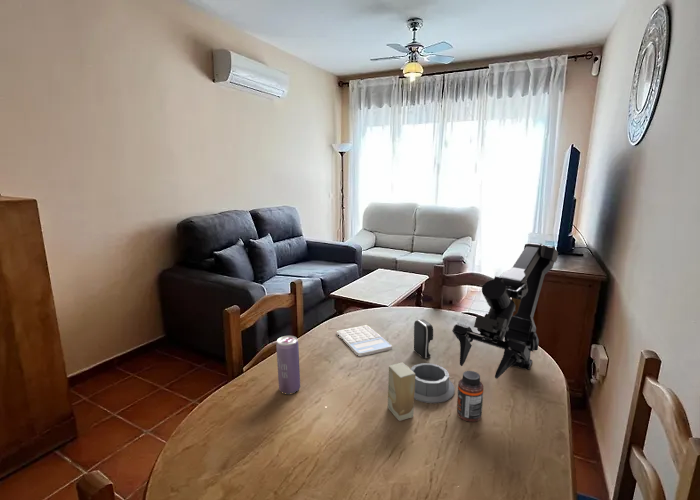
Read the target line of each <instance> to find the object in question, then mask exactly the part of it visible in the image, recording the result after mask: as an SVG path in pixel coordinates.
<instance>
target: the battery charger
mask: <svg viewBox="0 0 700 500" xmlns="http://www.w3.org/2000/svg"><path fill="white" fill-rule="evenodd" d="M413 323H414V325H413V351H414V352H415V353H416V354H417V355H418V356H419V357H421V358H423V359H428V358H430V357H431V354H430V353H429V352H430V351H429V348H430V347H429V346H430V345H429V344H430V343H431V341H433V340H434V328H433V327H434V326H433V325H432V324H431V323H429V322H428V321H427V320H425V319H416V320H415V321H414V322H413Z"/></svg>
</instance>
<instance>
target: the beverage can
mask: <svg viewBox="0 0 700 500" xmlns="http://www.w3.org/2000/svg"><path fill="white" fill-rule="evenodd" d="M275 347H276V361H277V363H276V364H277V365H276V366H277V379H278V382H277V383H278V390H279V391H280V393H282V392H283V393H286V394H285V395H291V394H290V393H294V394H295V392H296V391H297V392H299V390H300V388H301V375H300V373H301V372H300V371H301V369H300V352H299V349H300V348H299V341H298V338H297V337H296V336H294V335H284V336H281V337H279V338H277V340H276V346H275ZM297 392H296V393H297ZM283 393H282V394H283Z"/></svg>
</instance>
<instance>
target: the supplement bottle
mask: <svg viewBox="0 0 700 500" xmlns="http://www.w3.org/2000/svg"><path fill="white" fill-rule="evenodd" d="M483 399H484V384H483V383H482V381H481V375H480V374H479V373H478V372H476V371H474V370H466V371H464V372H463V373H462V378H460V380H459V381H458V386H457V401H456V403H457V404H456V414H457V416H458V417H459V418H460V419H462V420H463V421H466V422H469V423H473V422H478V421H479V420H481V418H482V415H483V414H482V413H483V401H484V400H483Z"/></svg>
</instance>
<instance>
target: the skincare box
mask: <svg viewBox="0 0 700 500" xmlns="http://www.w3.org/2000/svg"><path fill="white" fill-rule="evenodd" d="M387 379H388V384H387V408H388V410H389V411H390V412H391V413H392V414H393V416H394V417H395V419H397V420H398V421H399V422H401V421H404V420H407V419H410V418H413V417H414V414H415V413H414V408H415V399H414V393H415V373H414V372H413V371H412V370H411V367H409V366H408V365H406V364H405V363H404V362H403V361H402V362H397V363H393V364H389V365H388V377H387Z"/></svg>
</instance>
